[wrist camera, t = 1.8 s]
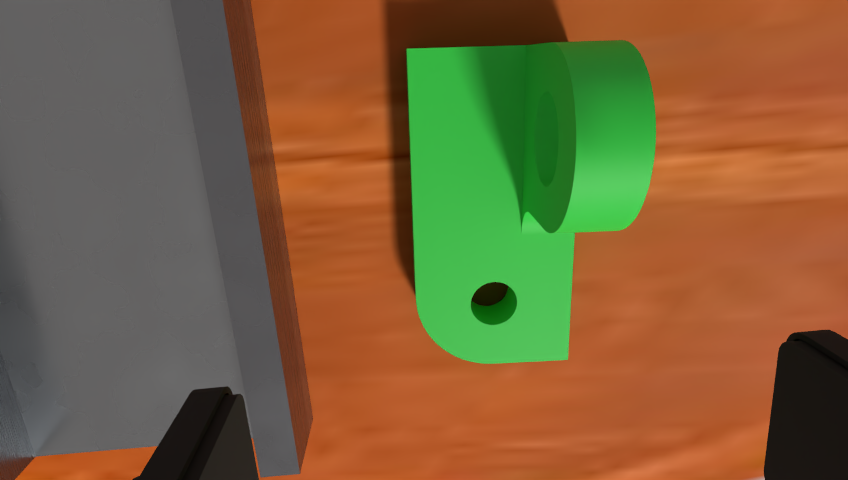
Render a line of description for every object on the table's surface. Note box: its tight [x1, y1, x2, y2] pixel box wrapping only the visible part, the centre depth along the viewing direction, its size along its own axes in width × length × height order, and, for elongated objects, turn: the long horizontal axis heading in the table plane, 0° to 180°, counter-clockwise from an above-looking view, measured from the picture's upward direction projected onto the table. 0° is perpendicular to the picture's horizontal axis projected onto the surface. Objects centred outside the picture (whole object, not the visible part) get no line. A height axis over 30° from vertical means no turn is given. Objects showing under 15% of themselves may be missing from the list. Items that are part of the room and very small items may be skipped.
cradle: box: [0, 0, 313, 480], centre depth 20 cm, size 13×18×4 cm
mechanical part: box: [406, 40, 656, 364], centre depth 19 cm, size 12×6×8 cm, turn 2°
